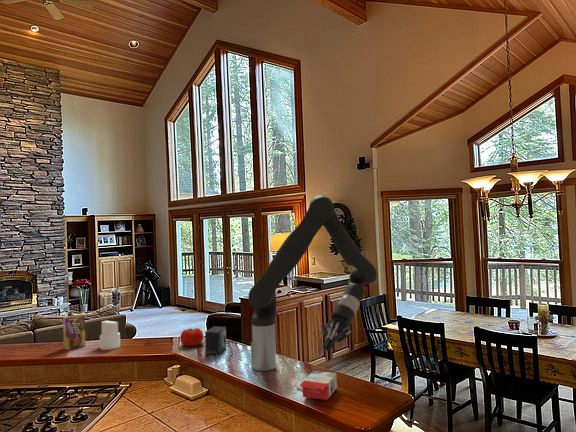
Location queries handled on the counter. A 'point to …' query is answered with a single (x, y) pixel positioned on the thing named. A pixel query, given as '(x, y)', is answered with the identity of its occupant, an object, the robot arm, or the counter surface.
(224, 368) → the counter surface
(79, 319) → the candy box
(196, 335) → the tomato
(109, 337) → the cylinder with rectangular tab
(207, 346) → the small box
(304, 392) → the ink box
